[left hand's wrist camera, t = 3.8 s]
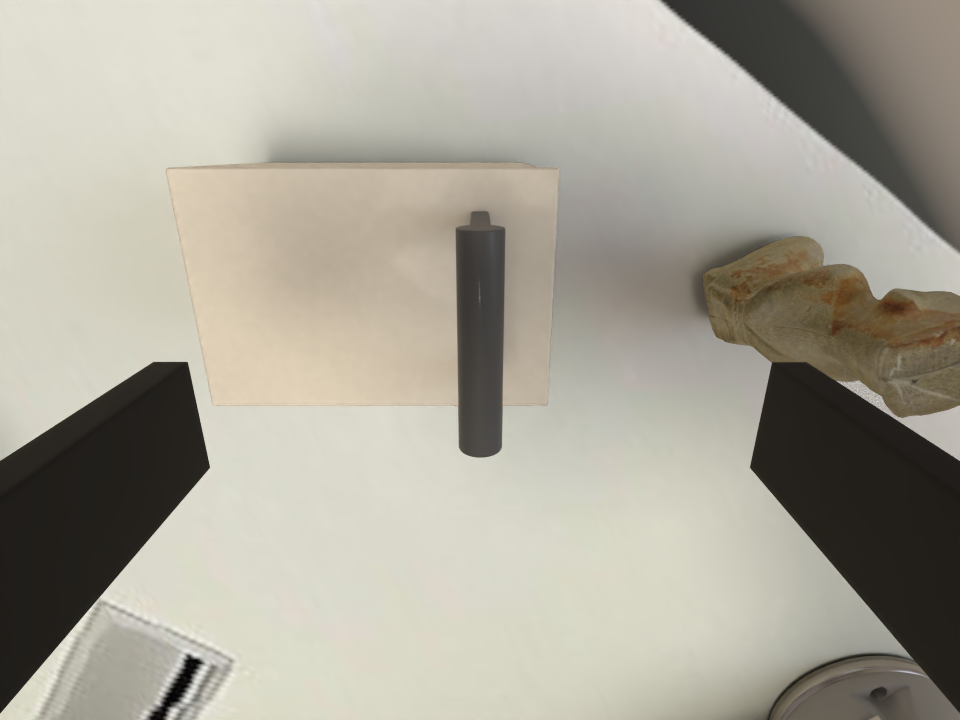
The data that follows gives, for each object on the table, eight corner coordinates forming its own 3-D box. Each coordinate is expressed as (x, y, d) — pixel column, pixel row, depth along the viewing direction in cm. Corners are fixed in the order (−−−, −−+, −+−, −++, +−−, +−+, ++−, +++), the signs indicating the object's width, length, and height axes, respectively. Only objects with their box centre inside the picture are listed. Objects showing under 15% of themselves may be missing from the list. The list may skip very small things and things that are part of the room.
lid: (555, 166, 22) (595, 175, 14) (544, 394, 26) (571, 495, 18) (181, 166, 22) (25, 175, 14) (224, 394, 26) (118, 496, 18)
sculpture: (811, 309, 34) (1044, 419, 20) (697, 340, 35) (844, 468, 21) (803, 218, 32) (1056, 270, 18) (682, 253, 33) (834, 330, 19)
